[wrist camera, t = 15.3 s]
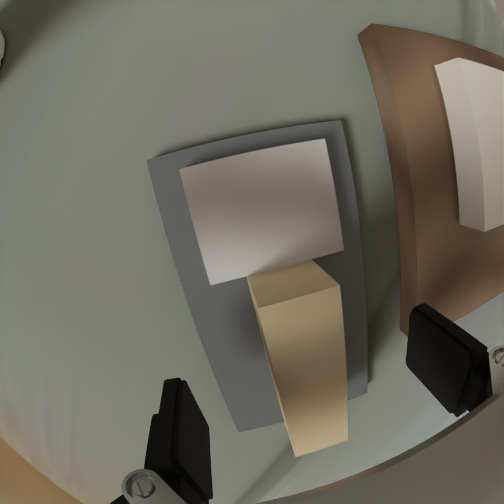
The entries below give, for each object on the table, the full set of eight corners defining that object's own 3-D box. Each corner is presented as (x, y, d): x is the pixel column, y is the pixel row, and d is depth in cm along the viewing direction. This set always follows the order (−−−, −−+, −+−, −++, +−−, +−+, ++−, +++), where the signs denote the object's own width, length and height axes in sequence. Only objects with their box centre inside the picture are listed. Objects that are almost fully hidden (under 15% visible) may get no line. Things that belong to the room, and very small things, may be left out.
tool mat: (363, 386, 16) (367, 392, 15) (237, 424, 15) (238, 432, 15) (335, 122, 11) (341, 120, 11) (150, 160, 11) (146, 160, 10)
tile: (543, 206, 10) (527, 81, 8) (484, 231, 10) (458, 57, 8) (522, 201, 12) (506, 83, 10) (456, 223, 12) (431, 66, 10)
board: (520, 264, 16) (532, 270, 14) (399, 329, 15) (413, 342, 13) (502, 65, 11) (515, 62, 10) (357, 34, 10) (371, 23, 9)
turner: (348, 386, 15) (374, 428, 11) (254, 414, 14) (265, 464, 11) (317, 140, 11) (359, 129, 7) (181, 169, 11) (166, 167, 7)
